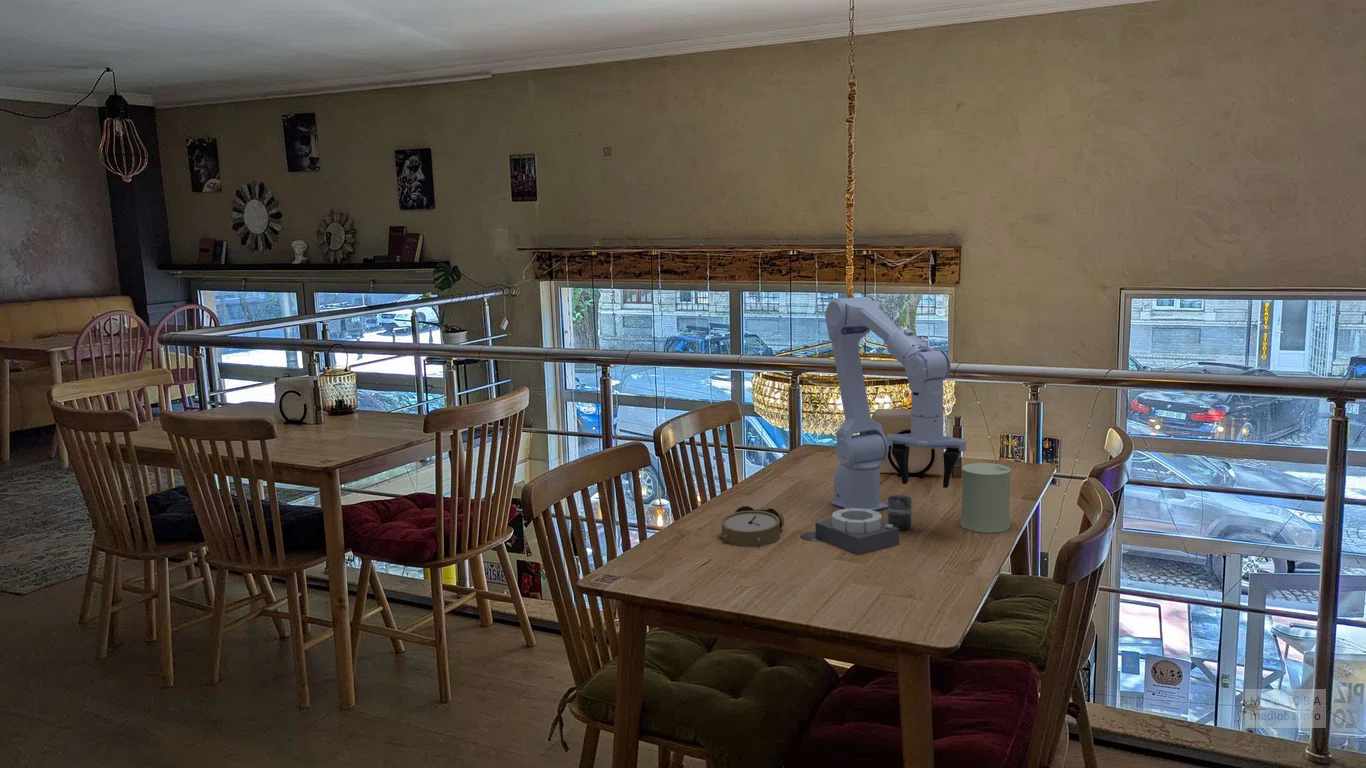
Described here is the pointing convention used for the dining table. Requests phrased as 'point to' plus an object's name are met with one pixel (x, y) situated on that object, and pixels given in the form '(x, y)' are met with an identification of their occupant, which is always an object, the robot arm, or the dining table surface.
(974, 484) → the can
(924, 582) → the dining table surface
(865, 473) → the robot arm
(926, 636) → the dining table surface
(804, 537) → the lens cap
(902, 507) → the lens
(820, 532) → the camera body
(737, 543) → the alarm clock
